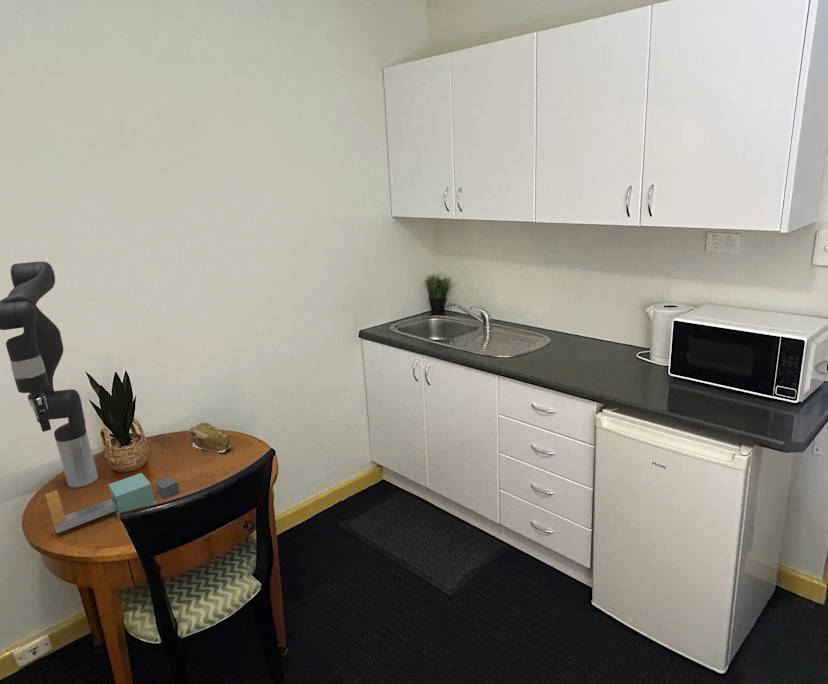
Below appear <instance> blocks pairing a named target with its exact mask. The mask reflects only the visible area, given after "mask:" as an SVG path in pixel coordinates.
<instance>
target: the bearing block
mask: <svg viewBox="0 0 828 684" xmlns="http://www.w3.org/2000/svg"><path fill="white" fill-rule="evenodd" d="M108 489H109V493H110V496H111V498H114V499H115V500H116V503H117V507H118V510H117V511H114V512H115V514H116V516H118V515H119V513H121V512H124V511H128V510H132V509H136V508H139V507H145V506H149V505H152V504H158V501H157V500H156V499H155V496H154V492H153V488H152V484H151V482H150V481H149V479H147V477H146V476H145V474H143V472H140V473H137V474H135V475H132V476H128V477H126V478H123V479H121V480H117V481H114V482H111V483H108Z"/></svg>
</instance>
